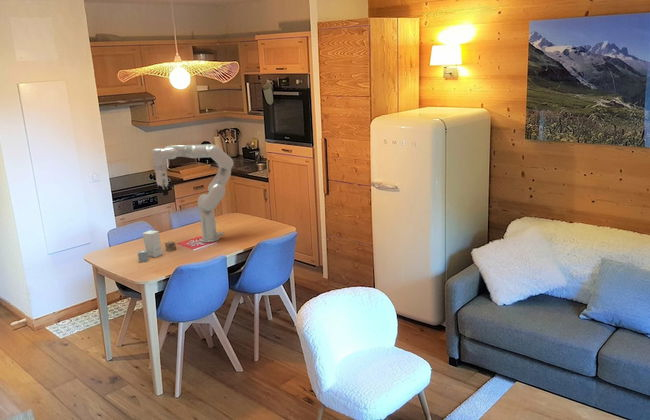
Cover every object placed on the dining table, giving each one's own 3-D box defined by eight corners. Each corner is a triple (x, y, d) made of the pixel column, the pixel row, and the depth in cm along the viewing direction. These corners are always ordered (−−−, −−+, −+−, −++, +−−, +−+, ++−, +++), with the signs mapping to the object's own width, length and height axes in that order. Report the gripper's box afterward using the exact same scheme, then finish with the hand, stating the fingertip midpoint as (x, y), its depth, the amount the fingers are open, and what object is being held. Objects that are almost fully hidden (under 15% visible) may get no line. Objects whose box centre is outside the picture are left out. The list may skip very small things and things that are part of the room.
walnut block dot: (173, 248, 366) (172, 240, 365) (176, 249, 362) (175, 242, 361) (166, 250, 363) (164, 242, 362) (168, 251, 359) (167, 244, 358)
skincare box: (163, 254, 355) (159, 231, 351) (155, 257, 350) (151, 234, 346) (153, 252, 359) (150, 229, 355) (145, 256, 354) (142, 232, 350)
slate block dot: (148, 258, 348) (146, 249, 347) (147, 261, 344) (146, 252, 342) (140, 260, 348) (138, 250, 346) (139, 262, 343) (137, 253, 341)
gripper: (170, 168, 349) (173, 195, 353) (161, 165, 363) (164, 191, 367) (158, 170, 345) (161, 197, 349) (150, 166, 359) (153, 192, 363)
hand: (163, 194), depth 358 cm, fingers open, 9 cm apart
